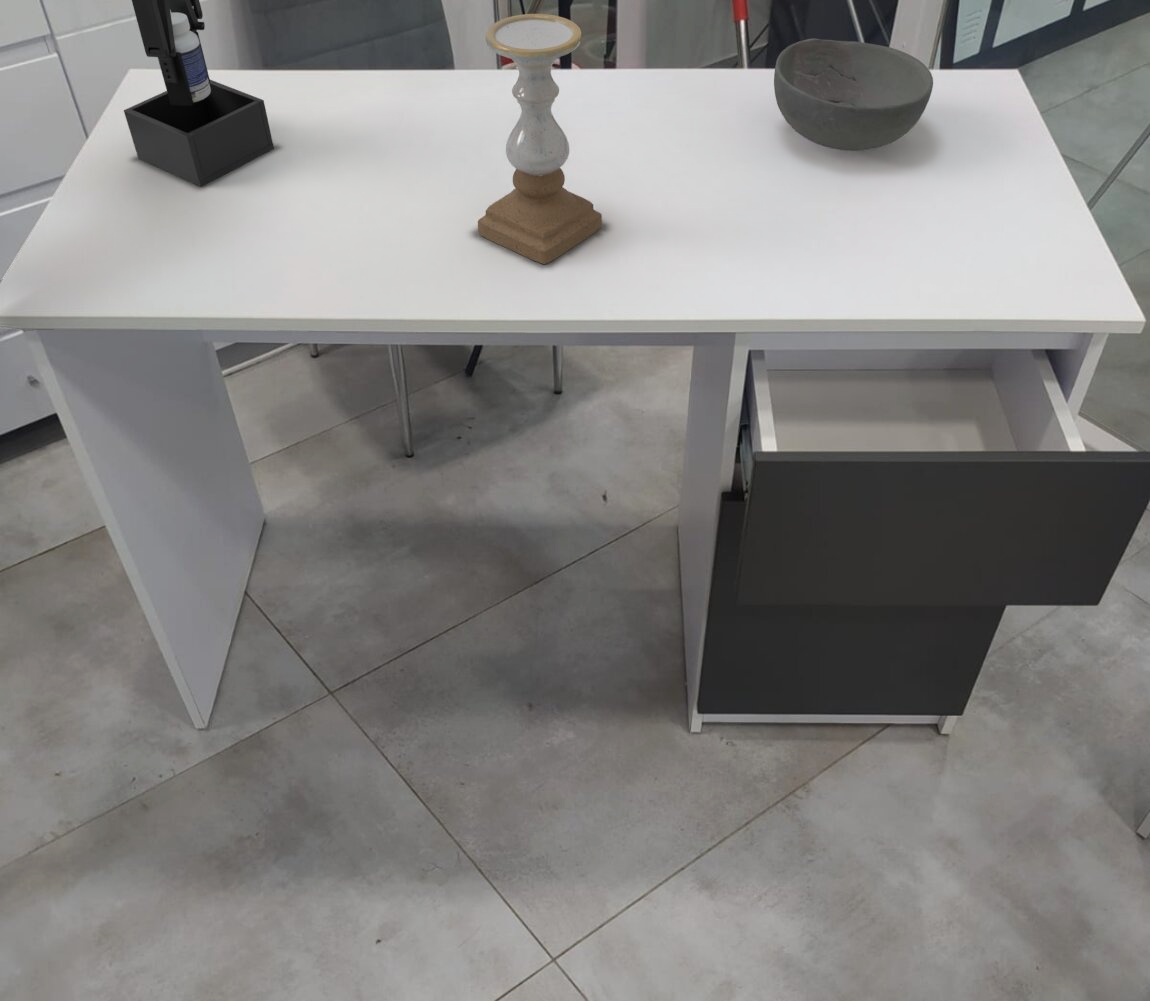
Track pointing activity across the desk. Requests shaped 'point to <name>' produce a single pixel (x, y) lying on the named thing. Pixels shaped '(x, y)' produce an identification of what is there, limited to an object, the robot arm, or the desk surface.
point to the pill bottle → (190, 57)
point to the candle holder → (537, 146)
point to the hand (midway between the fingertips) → (190, 93)
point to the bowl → (850, 92)
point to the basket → (200, 133)
